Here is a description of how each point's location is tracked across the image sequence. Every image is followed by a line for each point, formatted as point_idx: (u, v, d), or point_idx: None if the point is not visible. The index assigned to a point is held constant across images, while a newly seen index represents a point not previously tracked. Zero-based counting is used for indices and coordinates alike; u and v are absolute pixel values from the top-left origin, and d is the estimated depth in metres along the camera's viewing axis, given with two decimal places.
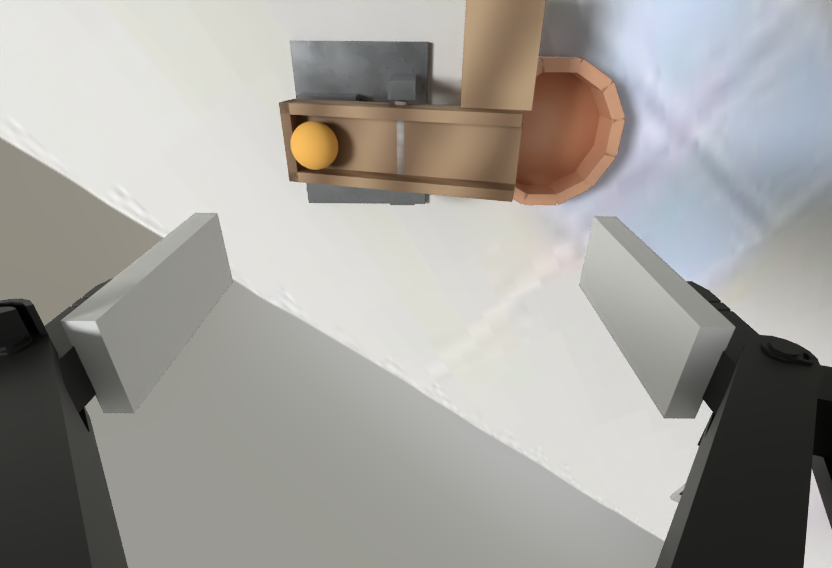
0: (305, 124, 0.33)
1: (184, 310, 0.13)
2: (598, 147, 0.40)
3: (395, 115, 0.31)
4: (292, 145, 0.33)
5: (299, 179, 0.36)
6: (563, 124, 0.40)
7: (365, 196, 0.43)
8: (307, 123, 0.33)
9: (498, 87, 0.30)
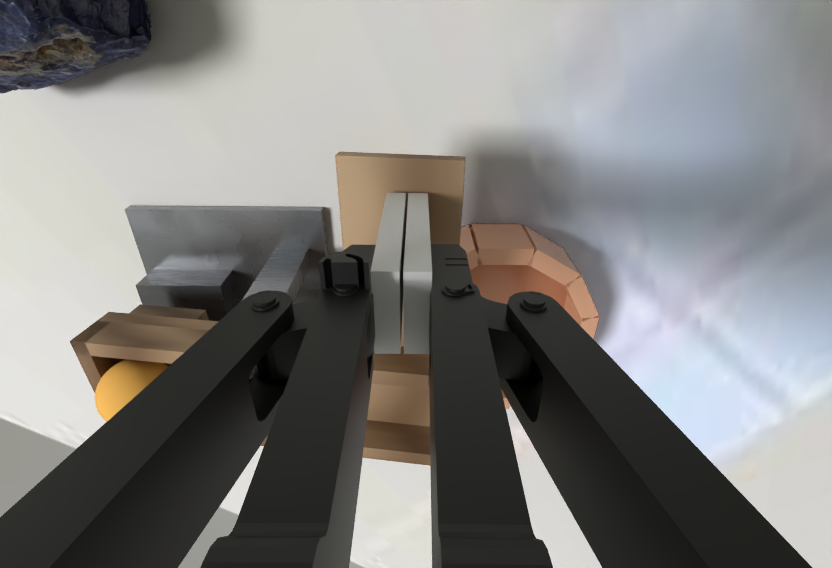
0: (114, 375, 0.21)
1: None
2: None
3: None
4: (96, 407, 0.21)
5: None
6: None
7: None
8: (118, 372, 0.21)
9: (402, 322, 0.21)
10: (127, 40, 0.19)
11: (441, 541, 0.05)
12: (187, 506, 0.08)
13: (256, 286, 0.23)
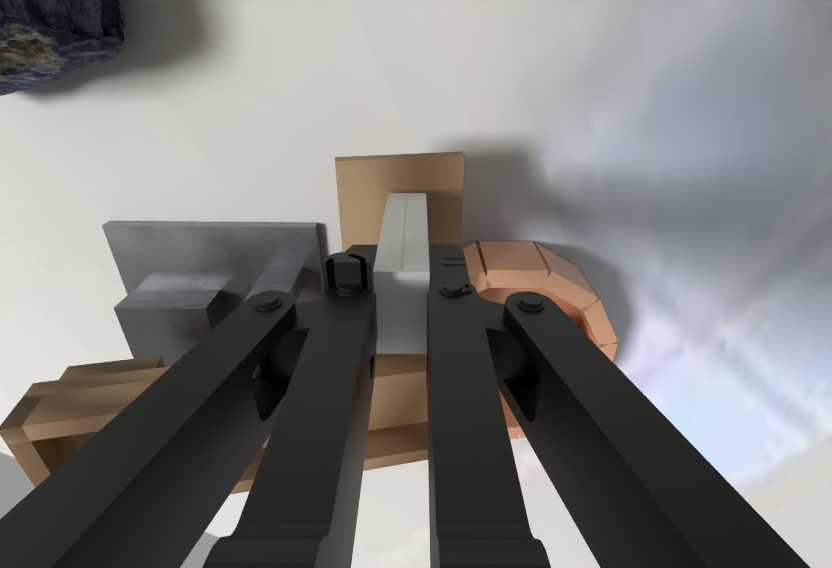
0: None
1: None
2: None
3: None
4: None
5: None
6: None
7: None
8: None
9: None
10: (95, 42, 0.17)
11: (439, 541, 0.05)
12: (190, 506, 0.08)
13: None
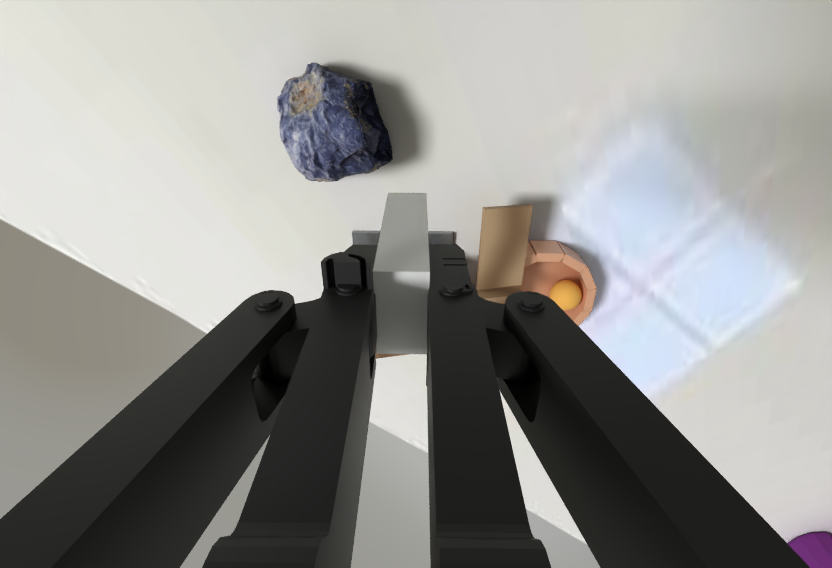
0: (569, 285, 0.51)
1: None
2: None
3: None
4: (565, 300, 0.50)
5: None
6: (552, 283, 0.53)
7: None
8: (569, 284, 0.51)
9: (501, 275, 0.47)
10: (388, 161, 0.43)
11: (439, 541, 0.05)
12: (189, 505, 0.08)
13: None
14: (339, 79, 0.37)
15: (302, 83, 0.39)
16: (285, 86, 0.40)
